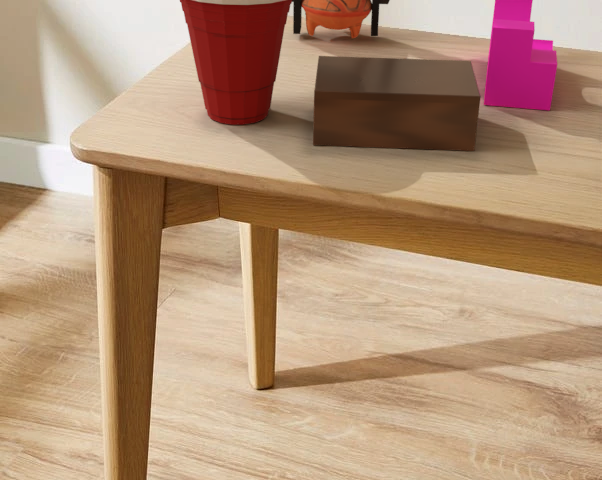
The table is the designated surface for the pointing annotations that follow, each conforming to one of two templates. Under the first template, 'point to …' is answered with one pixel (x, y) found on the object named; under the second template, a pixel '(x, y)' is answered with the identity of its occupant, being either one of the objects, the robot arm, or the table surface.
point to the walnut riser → (395, 103)
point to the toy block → (518, 60)
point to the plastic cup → (236, 54)
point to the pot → (336, 14)
